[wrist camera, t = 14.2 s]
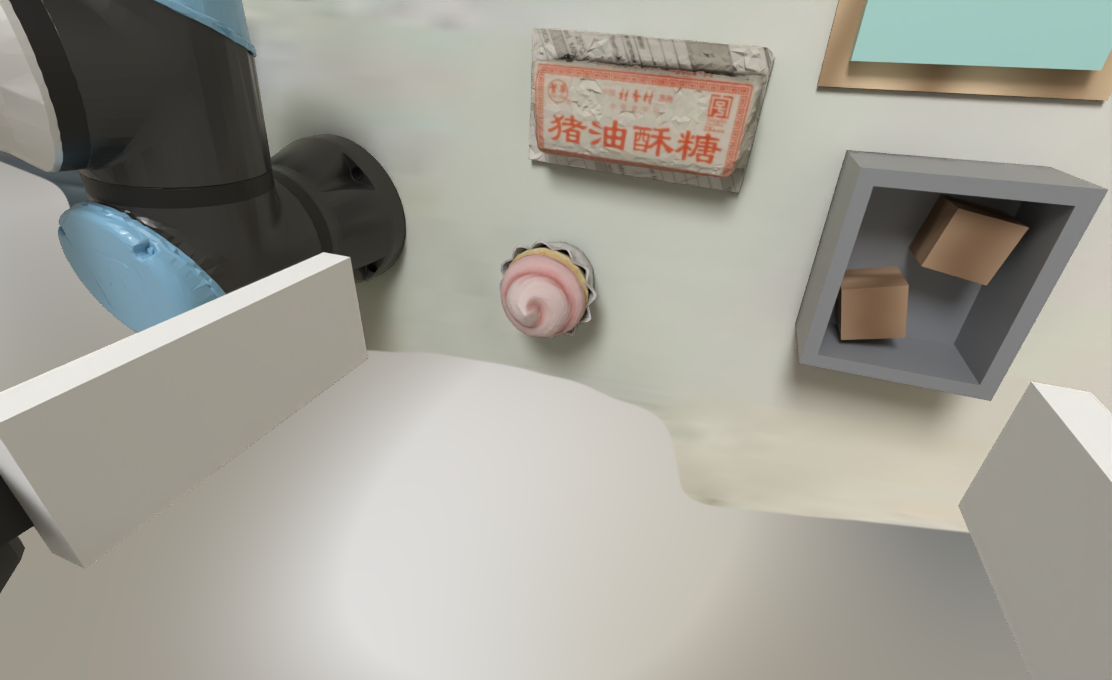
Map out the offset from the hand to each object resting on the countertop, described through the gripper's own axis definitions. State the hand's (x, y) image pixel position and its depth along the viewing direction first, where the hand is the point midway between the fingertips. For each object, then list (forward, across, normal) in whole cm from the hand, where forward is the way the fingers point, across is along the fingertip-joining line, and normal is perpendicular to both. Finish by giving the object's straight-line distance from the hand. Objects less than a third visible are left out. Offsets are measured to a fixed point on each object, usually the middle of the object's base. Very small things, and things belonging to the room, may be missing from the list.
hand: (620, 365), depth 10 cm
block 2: (+34, +16, -4) cm, 38 cm away
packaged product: (+35, -7, +2) cm, 36 cm away
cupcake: (+35, -13, -13) cm, 39 cm away
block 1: (+34, +12, -10) cm, 37 cm away
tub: (+35, +14, -7) cm, 38 cm away
